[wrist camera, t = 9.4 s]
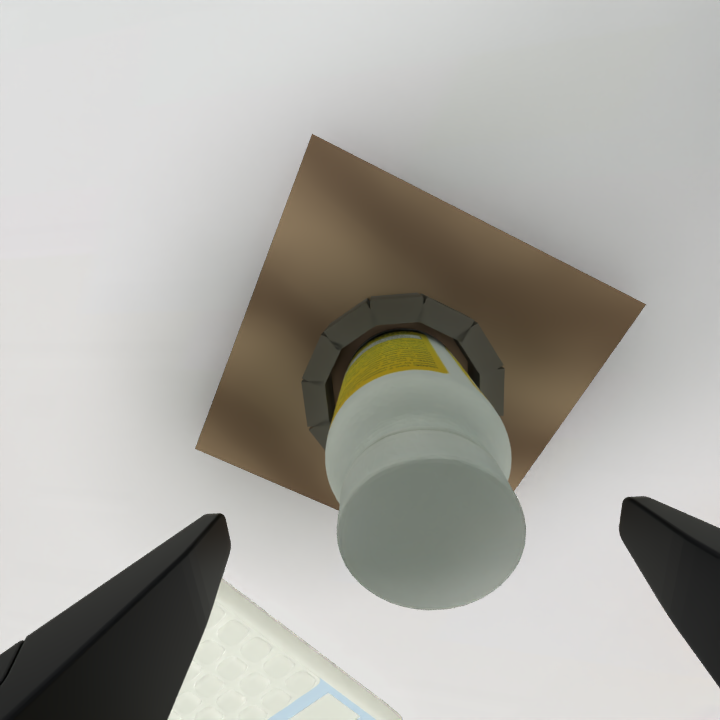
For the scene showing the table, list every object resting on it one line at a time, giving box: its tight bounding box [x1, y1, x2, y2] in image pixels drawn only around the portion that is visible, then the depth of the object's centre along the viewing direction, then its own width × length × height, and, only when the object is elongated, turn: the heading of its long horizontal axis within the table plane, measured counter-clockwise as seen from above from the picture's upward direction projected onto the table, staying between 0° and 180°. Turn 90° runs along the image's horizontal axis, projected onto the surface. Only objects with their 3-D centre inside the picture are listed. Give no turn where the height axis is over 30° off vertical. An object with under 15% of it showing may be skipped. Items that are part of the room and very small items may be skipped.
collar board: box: [195, 134, 646, 510], centre depth 16 cm, size 16×16×3 cm
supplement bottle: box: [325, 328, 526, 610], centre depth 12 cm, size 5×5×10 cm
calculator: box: [168, 579, 402, 720], centre depth 24 cm, size 13×20×2 cm, turn 45°
